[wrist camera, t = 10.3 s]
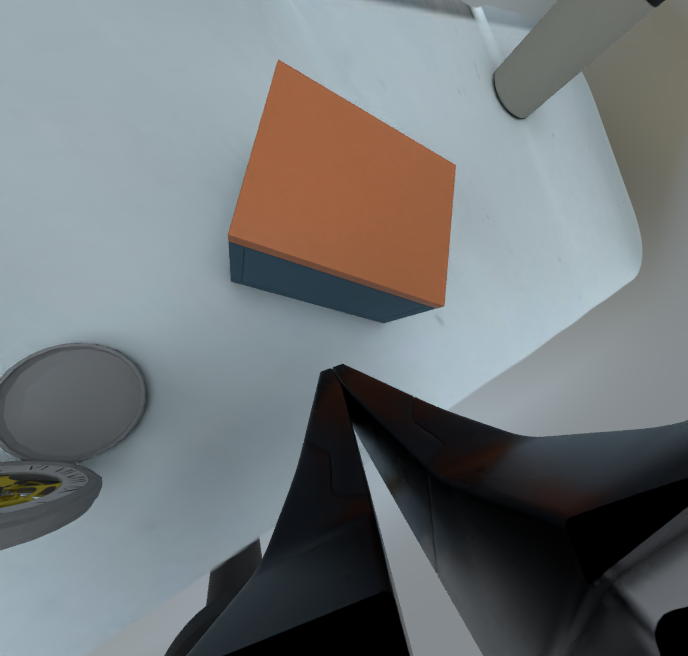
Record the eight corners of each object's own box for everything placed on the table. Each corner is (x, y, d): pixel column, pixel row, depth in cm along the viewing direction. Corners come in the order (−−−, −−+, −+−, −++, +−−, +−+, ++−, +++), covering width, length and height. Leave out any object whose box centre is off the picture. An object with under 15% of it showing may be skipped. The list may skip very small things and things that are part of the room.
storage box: (262, 164, 22) (273, 83, 15) (397, 224, 26) (447, 180, 20) (230, 281, 19) (228, 242, 13) (384, 323, 24) (435, 308, 18)
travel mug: (523, 130, 38) (744, -49, 21) (487, 92, 36) (703, -143, 19) (532, 96, 40) (738, -89, 24) (498, 58, 38) (701, -178, 21)
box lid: (276, 73, 16) (278, 58, 15) (448, 172, 20) (456, 164, 20) (228, 241, 13) (227, 234, 12) (436, 308, 18) (444, 306, 17)
